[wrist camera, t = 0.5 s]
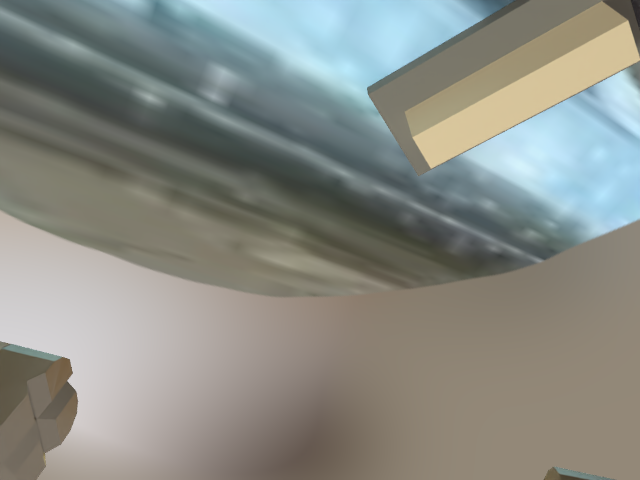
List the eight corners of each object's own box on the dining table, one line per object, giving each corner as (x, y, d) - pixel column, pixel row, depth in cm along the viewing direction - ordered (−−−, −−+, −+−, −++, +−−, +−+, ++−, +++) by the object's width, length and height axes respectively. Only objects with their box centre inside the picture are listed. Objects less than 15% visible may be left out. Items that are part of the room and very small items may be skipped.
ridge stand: (416, 168, 59) (426, 204, 54) (366, 88, 54) (372, 119, 49) (639, 51, 52) (676, 79, 47) (608, -54, 47) (644, -35, 42)
